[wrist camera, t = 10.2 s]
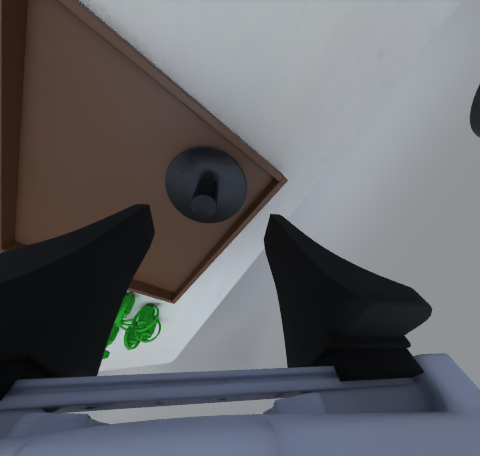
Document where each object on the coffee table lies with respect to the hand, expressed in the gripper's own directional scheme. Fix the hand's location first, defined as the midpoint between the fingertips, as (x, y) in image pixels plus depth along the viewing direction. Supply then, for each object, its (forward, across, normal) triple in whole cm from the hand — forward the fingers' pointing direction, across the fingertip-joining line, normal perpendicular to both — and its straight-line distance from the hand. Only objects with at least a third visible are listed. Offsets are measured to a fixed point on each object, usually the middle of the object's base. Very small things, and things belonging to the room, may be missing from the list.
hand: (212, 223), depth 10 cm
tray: (+9, +9, +5) cm, 13 cm away
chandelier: (+9, +16, +26) cm, 32 cm away
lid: (+8, +1, +1) cm, 8 cm away
